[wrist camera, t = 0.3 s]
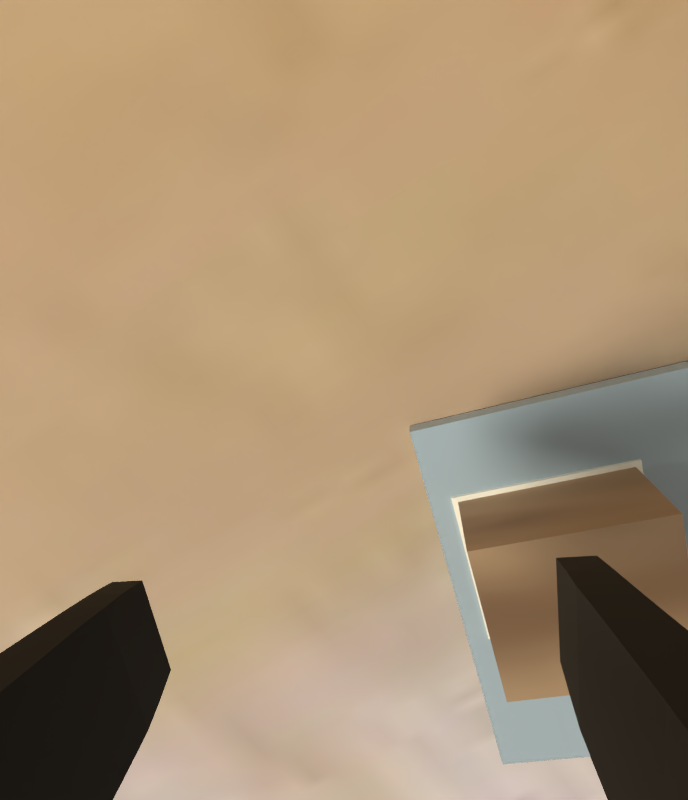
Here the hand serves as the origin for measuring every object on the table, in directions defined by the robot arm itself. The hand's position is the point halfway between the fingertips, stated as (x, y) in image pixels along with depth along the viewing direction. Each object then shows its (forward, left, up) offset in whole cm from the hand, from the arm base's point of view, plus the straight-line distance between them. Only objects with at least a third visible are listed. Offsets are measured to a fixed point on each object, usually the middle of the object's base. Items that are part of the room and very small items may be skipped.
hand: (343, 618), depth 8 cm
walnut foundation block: (-7, -5, -9) cm, 12 cm away
